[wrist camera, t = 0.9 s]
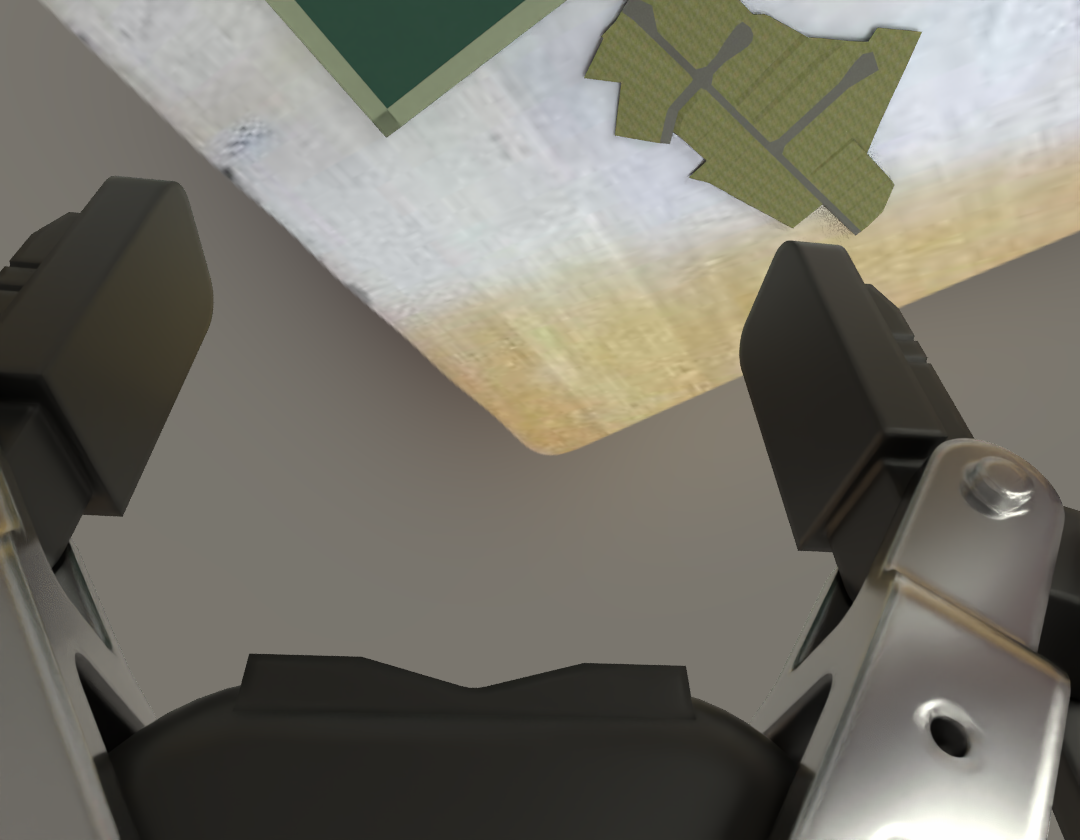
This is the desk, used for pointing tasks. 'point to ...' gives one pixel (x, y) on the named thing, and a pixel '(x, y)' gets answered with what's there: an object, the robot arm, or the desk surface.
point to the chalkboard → (406, 45)
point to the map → (758, 103)
